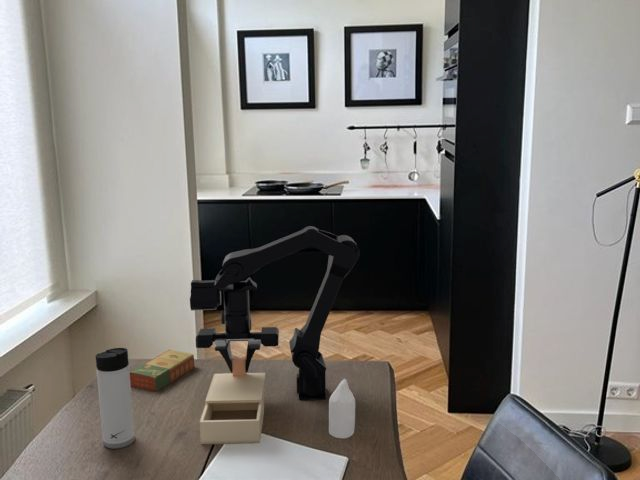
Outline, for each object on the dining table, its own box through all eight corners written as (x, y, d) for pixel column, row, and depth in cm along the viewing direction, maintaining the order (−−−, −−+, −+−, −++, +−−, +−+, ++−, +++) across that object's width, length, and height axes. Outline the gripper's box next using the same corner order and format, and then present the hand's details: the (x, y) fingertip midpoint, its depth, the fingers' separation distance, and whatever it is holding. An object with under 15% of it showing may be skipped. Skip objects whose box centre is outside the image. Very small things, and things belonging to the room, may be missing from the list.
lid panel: (265, 374, 148) (265, 356, 147) (261, 402, 135) (260, 382, 134) (214, 376, 148) (213, 357, 147) (205, 403, 134) (204, 383, 133)
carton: (195, 368, 167) (194, 353, 166) (156, 393, 152) (155, 376, 151) (169, 363, 170) (168, 348, 169) (129, 387, 156) (127, 371, 155)
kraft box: (264, 410, 142) (263, 390, 141) (259, 443, 128) (259, 420, 127) (210, 411, 142) (209, 391, 141) (200, 444, 128) (199, 422, 127)
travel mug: (118, 452, 125) (110, 358, 121) (96, 443, 129) (88, 352, 125) (142, 438, 131) (135, 348, 126) (120, 430, 134) (113, 342, 130)
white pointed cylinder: (326, 373, 133) (352, 371, 133) (327, 425, 135) (353, 423, 136) (330, 385, 127) (357, 383, 128) (330, 439, 129) (357, 438, 130)
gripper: (278, 296, 152) (280, 357, 155) (201, 298, 151) (204, 359, 155) (277, 311, 141) (279, 376, 144) (193, 313, 141) (197, 378, 144)
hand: (239, 372), depth 147 cm, fingers closed on lid panel, 3 cm apart
